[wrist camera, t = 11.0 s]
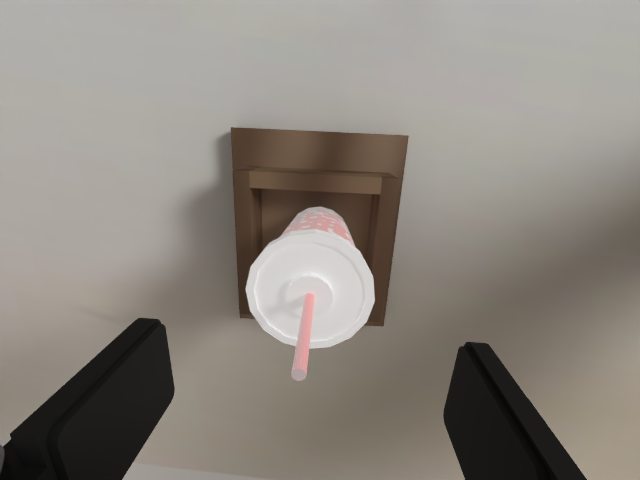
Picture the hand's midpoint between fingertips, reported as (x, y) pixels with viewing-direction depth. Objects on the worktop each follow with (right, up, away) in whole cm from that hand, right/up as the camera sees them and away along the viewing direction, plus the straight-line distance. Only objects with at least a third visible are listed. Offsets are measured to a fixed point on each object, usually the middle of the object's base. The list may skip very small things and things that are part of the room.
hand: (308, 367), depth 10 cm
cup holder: (0, +5, +14) cm, 15 cm away
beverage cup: (0, +4, +13) cm, 14 cm away
